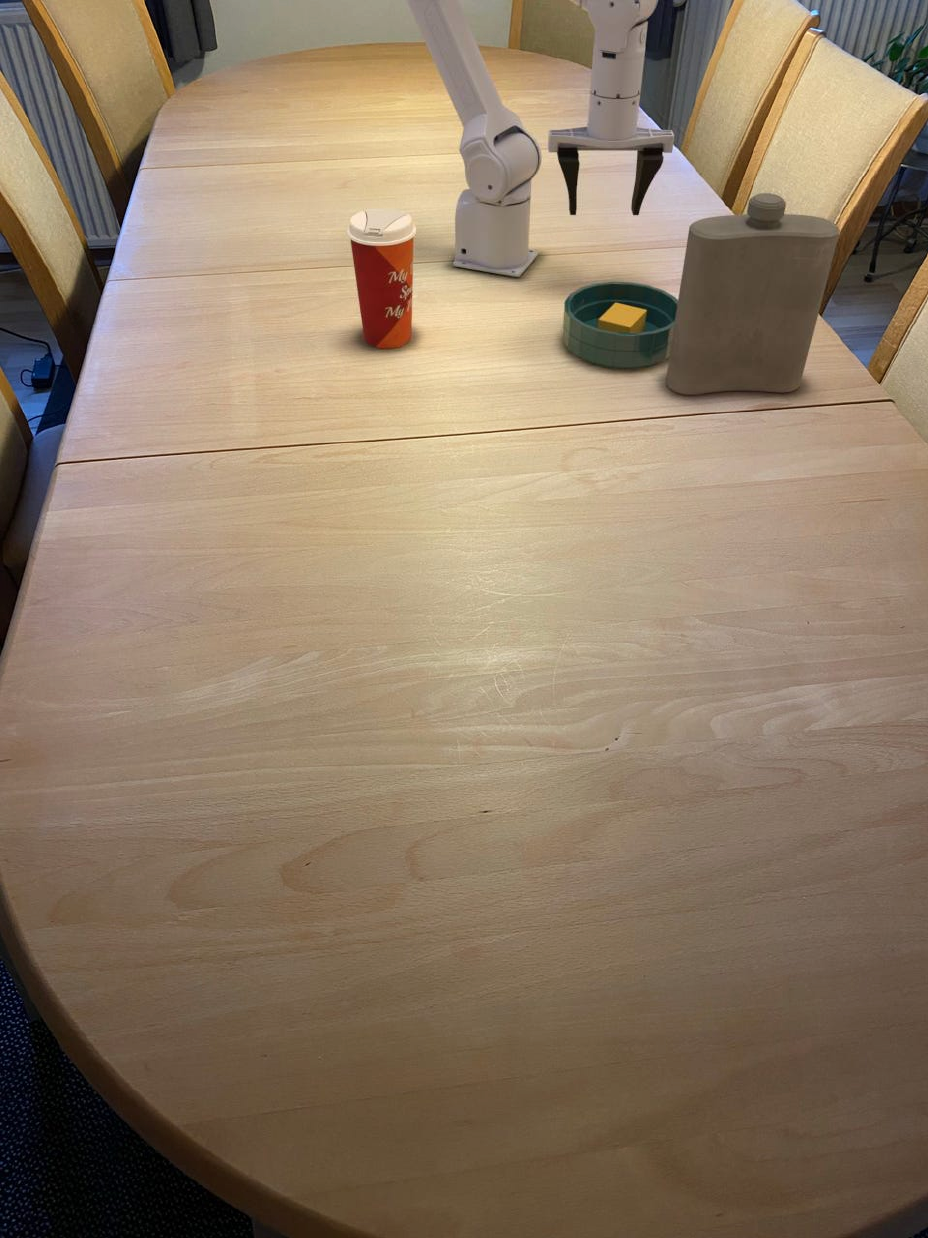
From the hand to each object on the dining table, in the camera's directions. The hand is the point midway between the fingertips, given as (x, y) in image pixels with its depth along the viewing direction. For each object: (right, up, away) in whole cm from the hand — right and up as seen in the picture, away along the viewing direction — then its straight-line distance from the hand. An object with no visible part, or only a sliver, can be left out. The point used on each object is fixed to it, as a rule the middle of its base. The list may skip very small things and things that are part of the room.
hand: (603, 212), depth 122 cm
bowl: (+1, -18, -5) cm, 18 cm away
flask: (+13, -24, -11) cm, 29 cm away
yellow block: (+1, -17, -5) cm, 18 cm away
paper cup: (-26, -17, -4) cm, 31 cm away
